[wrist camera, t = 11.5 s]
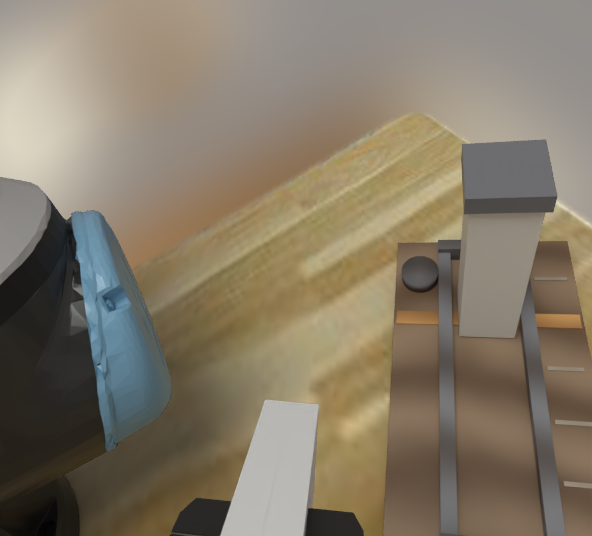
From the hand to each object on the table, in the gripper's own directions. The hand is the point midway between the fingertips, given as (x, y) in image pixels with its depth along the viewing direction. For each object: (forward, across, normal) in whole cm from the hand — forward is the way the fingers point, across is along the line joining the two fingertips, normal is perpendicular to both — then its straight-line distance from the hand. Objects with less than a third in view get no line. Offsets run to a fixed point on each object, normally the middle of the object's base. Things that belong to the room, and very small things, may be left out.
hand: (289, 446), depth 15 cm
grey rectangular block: (+27, +13, -4) cm, 30 cm away
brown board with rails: (+23, +12, -9) cm, 28 cm away
